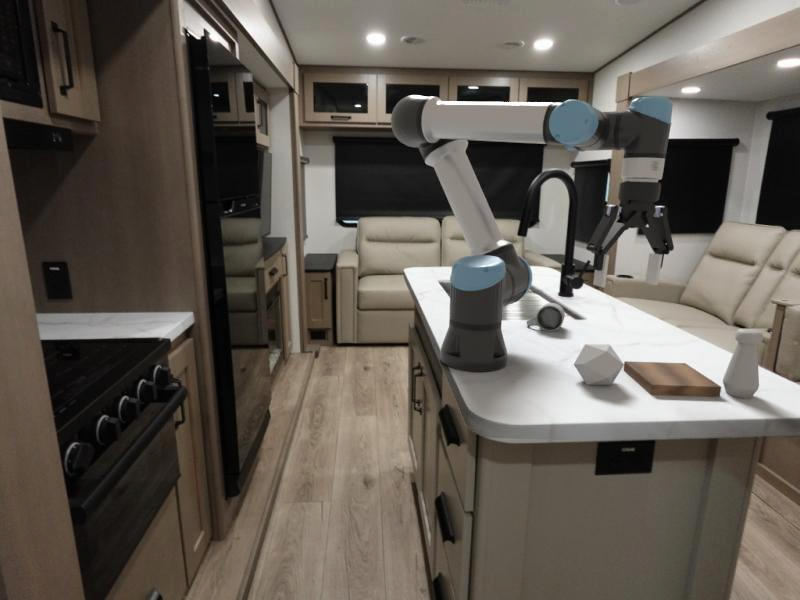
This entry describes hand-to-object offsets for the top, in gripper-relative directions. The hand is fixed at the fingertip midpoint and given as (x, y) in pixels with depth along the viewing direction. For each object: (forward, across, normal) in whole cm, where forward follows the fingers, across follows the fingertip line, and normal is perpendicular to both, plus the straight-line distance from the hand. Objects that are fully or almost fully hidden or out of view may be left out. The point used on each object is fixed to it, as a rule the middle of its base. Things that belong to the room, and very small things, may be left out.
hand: (625, 285), depth 102 cm
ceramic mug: (+20, +5, +33) cm, 39 cm away
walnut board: (+19, +6, -9) cm, 22 cm away
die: (+19, -8, -5) cm, 22 cm away
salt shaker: (+19, +14, -18) cm, 29 cm away
